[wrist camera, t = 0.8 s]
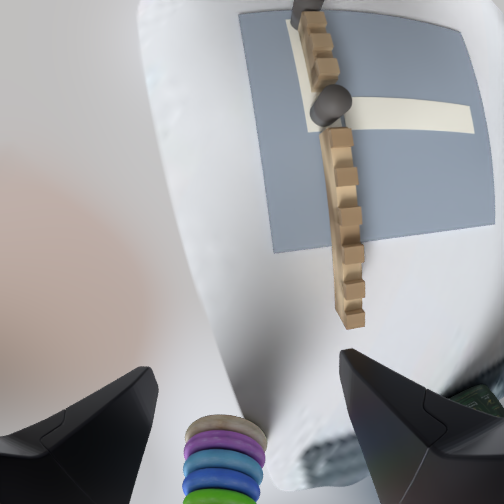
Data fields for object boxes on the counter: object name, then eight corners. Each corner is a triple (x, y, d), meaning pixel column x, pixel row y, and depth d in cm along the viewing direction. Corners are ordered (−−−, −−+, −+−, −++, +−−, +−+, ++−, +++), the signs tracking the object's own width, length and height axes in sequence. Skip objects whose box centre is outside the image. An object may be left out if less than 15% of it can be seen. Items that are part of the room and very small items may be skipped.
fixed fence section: (311, 16, 16) (320, -14, 12) (336, 127, 18) (354, 113, 14) (287, 16, 16) (292, -14, 12) (310, 128, 18) (323, 114, 14)
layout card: (458, 33, 15) (460, 32, 14) (492, 223, 19) (495, 224, 18) (238, 16, 16) (238, 14, 16) (273, 252, 20) (273, 253, 20)
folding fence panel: (318, 134, 17) (330, 125, 14) (336, 133, 17) (350, 124, 14) (335, 308, 20) (346, 329, 17) (351, 306, 20) (364, 326, 17)
